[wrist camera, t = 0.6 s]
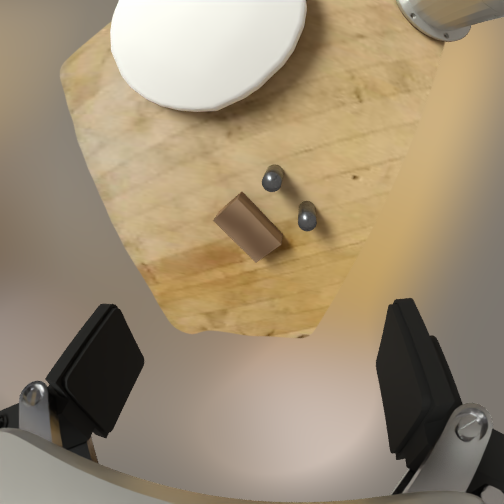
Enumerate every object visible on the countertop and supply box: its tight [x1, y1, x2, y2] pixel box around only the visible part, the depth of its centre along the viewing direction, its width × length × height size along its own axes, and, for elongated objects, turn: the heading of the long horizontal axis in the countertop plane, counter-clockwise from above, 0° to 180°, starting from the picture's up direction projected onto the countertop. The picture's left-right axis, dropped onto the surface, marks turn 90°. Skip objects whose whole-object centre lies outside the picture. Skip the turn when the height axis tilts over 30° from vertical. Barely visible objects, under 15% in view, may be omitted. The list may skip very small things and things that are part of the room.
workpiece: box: [213, 192, 283, 262], centre depth 43 cm, size 5×9×4 cm, turn 44°
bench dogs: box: [262, 165, 317, 231], centre depth 38 cm, size 2×9×5 cm, turn 44°
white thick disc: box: [110, 0, 307, 112], centre depth 27 cm, size 28×6×27 cm
